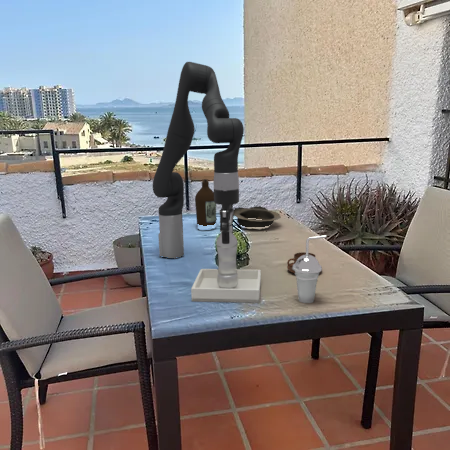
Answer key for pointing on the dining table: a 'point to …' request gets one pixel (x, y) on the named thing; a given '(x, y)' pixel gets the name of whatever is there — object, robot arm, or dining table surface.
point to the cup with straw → (307, 274)
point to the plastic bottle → (227, 261)
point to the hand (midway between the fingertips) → (227, 239)
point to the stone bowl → (255, 216)
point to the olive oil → (205, 205)
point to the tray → (242, 293)
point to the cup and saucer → (296, 260)
